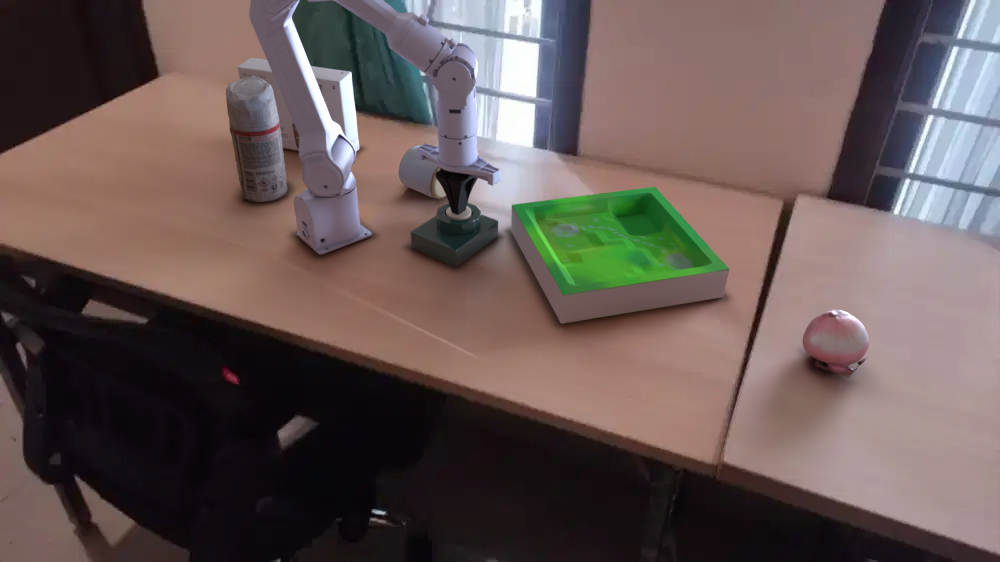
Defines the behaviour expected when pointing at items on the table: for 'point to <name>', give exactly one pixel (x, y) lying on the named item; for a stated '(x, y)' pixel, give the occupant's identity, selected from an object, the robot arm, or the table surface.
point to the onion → (836, 341)
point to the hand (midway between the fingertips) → (458, 211)
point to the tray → (615, 254)
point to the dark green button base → (454, 235)
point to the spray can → (256, 139)
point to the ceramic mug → (420, 174)
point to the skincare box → (333, 91)
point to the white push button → (462, 216)
